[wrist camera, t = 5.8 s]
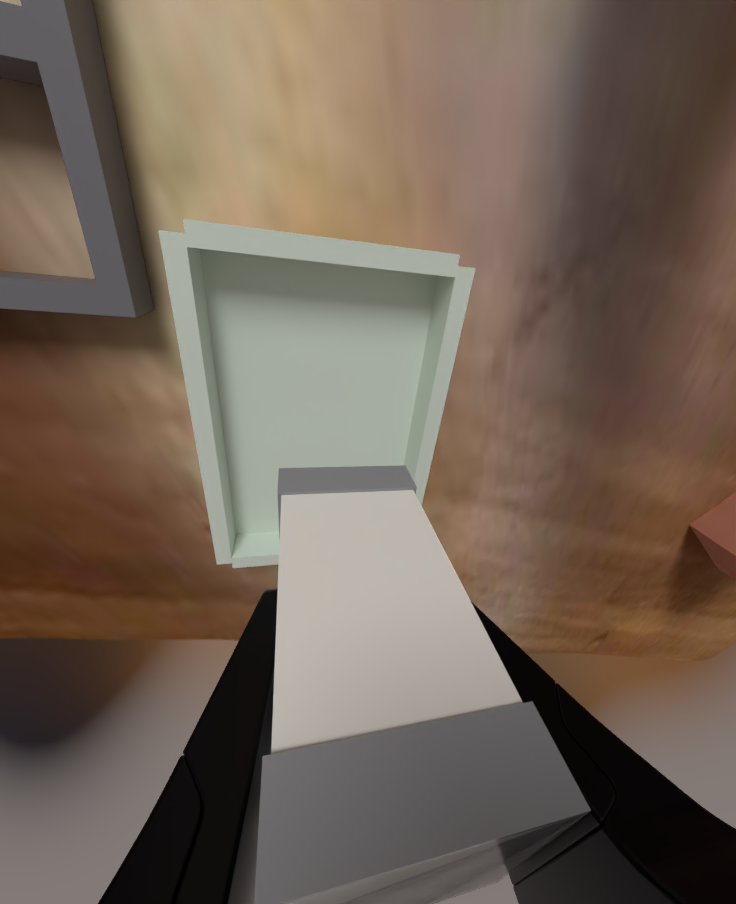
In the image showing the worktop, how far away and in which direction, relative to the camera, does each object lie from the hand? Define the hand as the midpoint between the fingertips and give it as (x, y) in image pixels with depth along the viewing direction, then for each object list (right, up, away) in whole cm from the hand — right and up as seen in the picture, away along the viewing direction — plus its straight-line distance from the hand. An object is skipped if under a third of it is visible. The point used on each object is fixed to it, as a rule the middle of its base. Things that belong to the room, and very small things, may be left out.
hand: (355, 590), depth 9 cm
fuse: (-1, +1, +3) cm, 3 cm away
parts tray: (-2, +5, +9) cm, 11 cm away
